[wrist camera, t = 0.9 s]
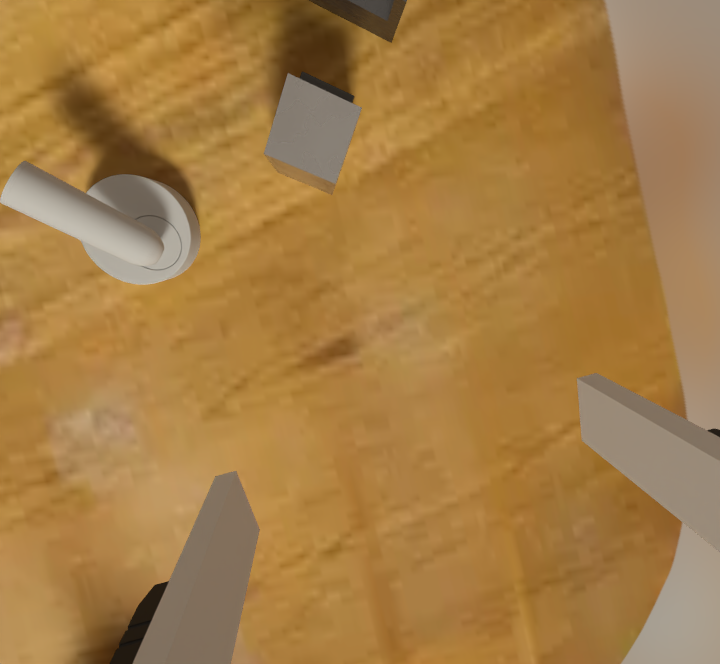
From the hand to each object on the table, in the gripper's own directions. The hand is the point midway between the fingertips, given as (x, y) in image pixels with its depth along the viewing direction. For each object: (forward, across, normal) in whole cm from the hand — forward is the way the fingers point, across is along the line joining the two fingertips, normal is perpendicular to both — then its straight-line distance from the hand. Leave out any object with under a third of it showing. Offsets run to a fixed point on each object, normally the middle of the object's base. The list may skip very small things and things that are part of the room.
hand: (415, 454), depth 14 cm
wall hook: (+23, -16, +13) cm, 31 cm away
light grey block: (+23, 0, +15) cm, 27 cm away
